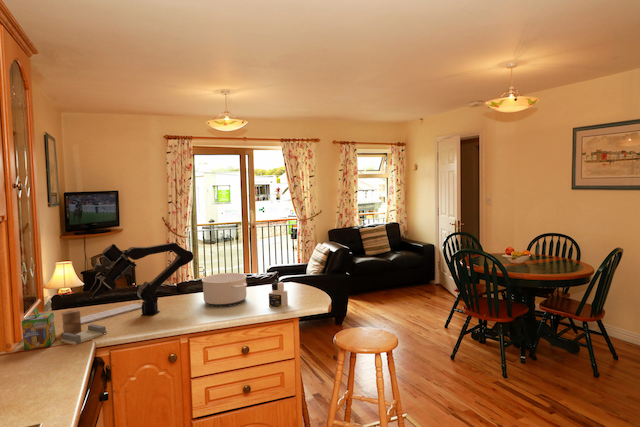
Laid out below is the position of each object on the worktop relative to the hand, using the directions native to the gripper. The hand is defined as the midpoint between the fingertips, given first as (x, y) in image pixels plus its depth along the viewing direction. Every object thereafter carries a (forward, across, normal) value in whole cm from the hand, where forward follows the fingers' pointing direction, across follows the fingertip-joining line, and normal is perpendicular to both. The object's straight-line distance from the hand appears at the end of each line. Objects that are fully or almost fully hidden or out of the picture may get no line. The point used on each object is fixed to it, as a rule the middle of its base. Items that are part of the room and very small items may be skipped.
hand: (91, 294), depth 185 cm
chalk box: (+25, +11, -2) cm, 28 cm away
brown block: (+16, +3, +5) cm, 17 cm away
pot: (-37, +8, +51) cm, 63 cm away
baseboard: (+3, -16, +18) cm, 24 cm away
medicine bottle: (-50, +33, +62) cm, 86 cm away
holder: (+13, +14, +7) cm, 21 cm away
